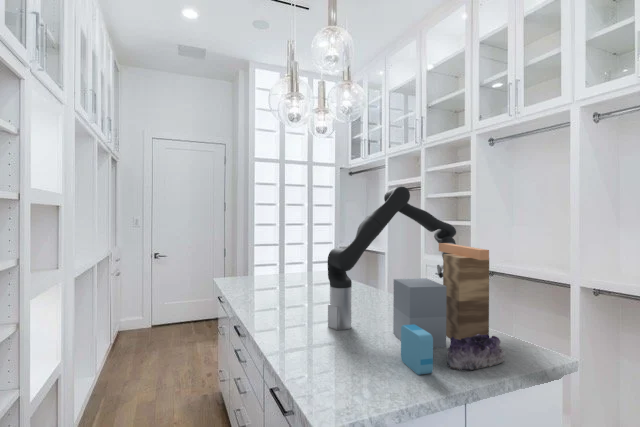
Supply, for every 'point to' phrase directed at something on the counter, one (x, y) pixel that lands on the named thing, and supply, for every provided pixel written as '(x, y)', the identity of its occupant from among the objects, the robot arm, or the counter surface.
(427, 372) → the blue flat block
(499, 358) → the geode
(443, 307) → the low stand
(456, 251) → the bar
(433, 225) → the robot arm
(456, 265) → the tall tower
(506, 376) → the counter surface
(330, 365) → the counter surface
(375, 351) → the counter surface
